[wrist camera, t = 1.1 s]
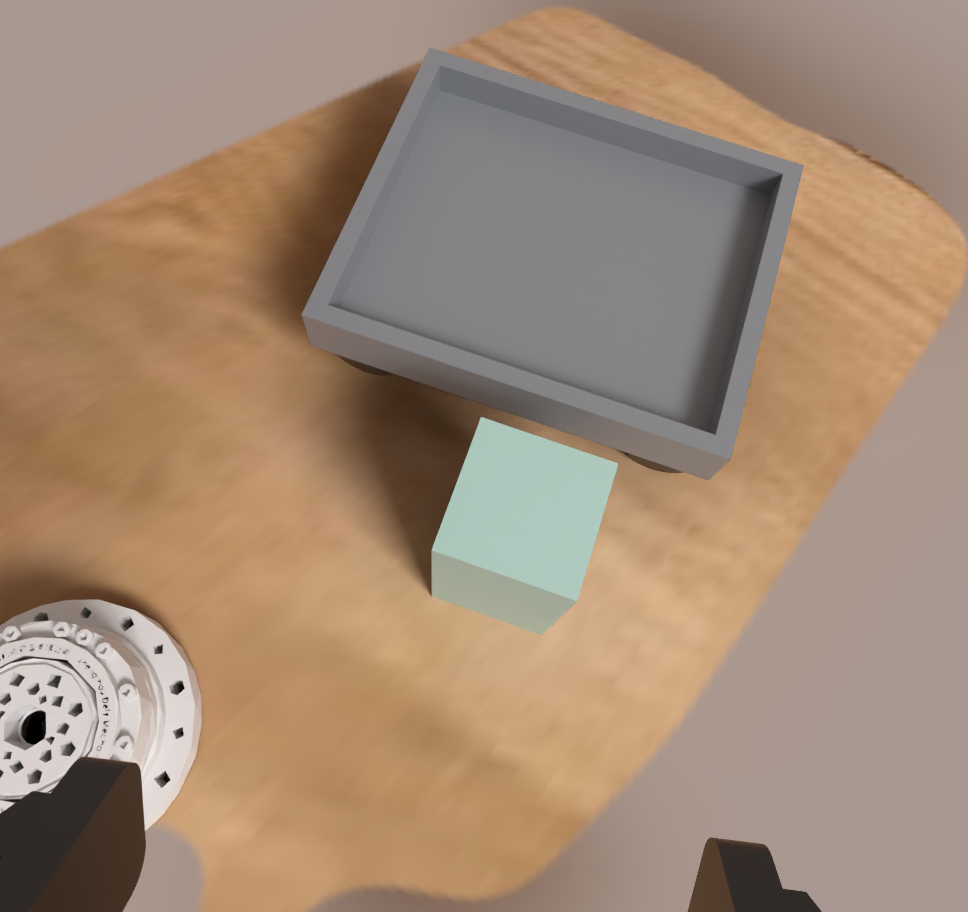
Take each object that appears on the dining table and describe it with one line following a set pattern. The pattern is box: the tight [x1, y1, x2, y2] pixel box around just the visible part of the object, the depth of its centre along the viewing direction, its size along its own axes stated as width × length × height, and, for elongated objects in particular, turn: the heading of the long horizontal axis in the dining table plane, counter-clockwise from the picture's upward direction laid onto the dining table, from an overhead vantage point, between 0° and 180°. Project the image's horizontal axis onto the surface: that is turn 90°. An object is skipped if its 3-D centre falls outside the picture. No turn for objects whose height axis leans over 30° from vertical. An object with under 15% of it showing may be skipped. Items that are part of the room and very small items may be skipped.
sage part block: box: [432, 417, 618, 635], centre depth 31 cm, size 5×5×9 cm
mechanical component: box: [0, 599, 202, 831], centre depth 30 cm, size 10×4×10 cm
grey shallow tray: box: [302, 48, 804, 480], centre depth 37 cm, size 18×15×6 cm
